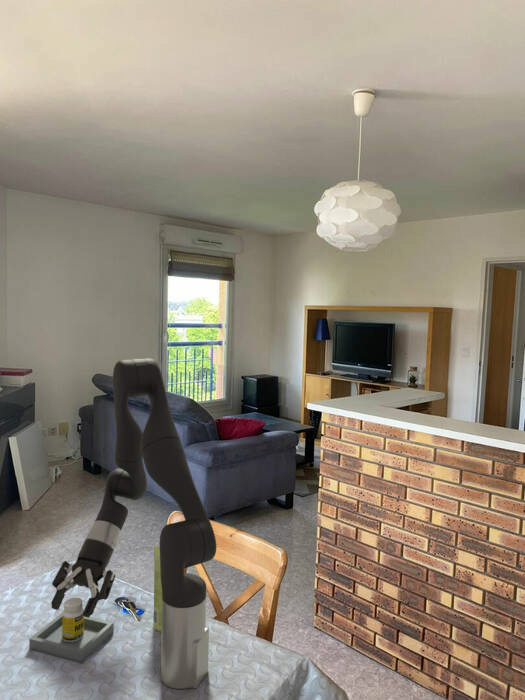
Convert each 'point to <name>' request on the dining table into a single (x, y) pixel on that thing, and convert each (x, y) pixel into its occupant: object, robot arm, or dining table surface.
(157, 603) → the tube
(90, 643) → the tray
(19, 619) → the dining table surface
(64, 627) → the supplement bottle
